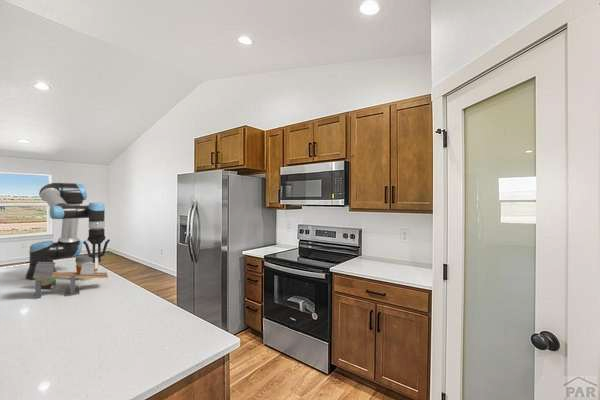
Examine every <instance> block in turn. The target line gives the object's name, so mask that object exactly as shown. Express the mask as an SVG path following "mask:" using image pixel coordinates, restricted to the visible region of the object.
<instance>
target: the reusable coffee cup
mask: <svg viewBox="0 0 600 400" xmlns="http://www.w3.org/2000/svg"><path fill="white" fill-rule="evenodd" d="M91 255H93V253H91ZM95 257H98V253H97V254H96V253H95ZM75 263H76V265H75V271H76V272H80V271H81V266H82V264H95V263H93V258H92V257H89V255H88V253H87V254H81V255H80V254H79V255H78V256H75ZM99 266H100V262H99V263H98V267H99ZM98 270H99V268H98V269H94V273H98ZM90 280H95V278H78V281H90Z"/></svg>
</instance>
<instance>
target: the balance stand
mask: <svg viewBox="0 0 600 400" xmlns="http://www.w3.org/2000/svg"><path fill="white" fill-rule="evenodd" d="M69 280H70V281H69V287H68V288H65V293H64V294H65V295H64V297H69V296H75V295H80V288H81V287H80V286H76V278H75V276H72V277H70V278H69ZM34 289H35V293H34V294H35V299H36V300H37V299H41V298H42V289H41V281H36V280H35V288H34Z"/></svg>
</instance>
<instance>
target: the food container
mask: <svg viewBox="0 0 600 400" xmlns="http://www.w3.org/2000/svg"><path fill="white" fill-rule="evenodd" d="M53 272H58V271H57V269H56V270H53ZM36 281H41V291H42V290H44V291H45V290H46V291H50V290H51V291H52V290H54V289H56V281H57V278H36V279H35V282H36Z"/></svg>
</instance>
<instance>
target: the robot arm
mask: <svg viewBox="0 0 600 400" xmlns="http://www.w3.org/2000/svg"><path fill="white" fill-rule="evenodd" d="M38 195H39V197H40V198H41V200H42V201H43V202H46V203H47V205H48V206H49V218H50V219H53V220H62V221H61V222H62V223H61V234H60V237H59V238H57V242H55V241H54V240H44V241H38V242H35V243H32V244H31V245H30V246H29V251H28V253H29V264H28V265H29V267H28V269H27V271H26V274H25V280H36V278H33V276H34V272H35V268H36V264H37V263H38V262H54V260H59V259H68V258H74V257H75V258H76V257H77V256H80V254H81V252H82V249H83V245H85V248H86V252H87V254H88V255H89V257H92V258H93V263H95V269H98V270H99V266H98V263H99V264H100V263H101V262H102V261H101V258H102V257H104V256H105V254H106V251H107V247H108V245H109V242H110V241H111V240H110V238H107V237H106V236H105V233H106V232H105V231H106V229H105V215H106V212H105V211H106V208H105V207H106V206H105V203H104V202H89V203H88V205H82V204H83V202H84V201H86V200H87V196H88V194H87V189H86V187H85V185H84V184H82V183H74V182H73V183H72V182H70V183H69V182H67V183H66V182H51V183H48V184H45V185H44V186H42V187H41V188H40V190H39V193H38ZM79 219H88V228H89V229H88V237H87V239H86V240H83V241H82V240H80V238H79V237H78V229H79V228H78V227H79ZM103 242H104V245H103V249H102V251H101V246H102V245H101V244H102V243H103ZM89 243H90V244H91V245H92V253H91V250H90V246H89ZM96 245H97V254H98V257H95V254H96ZM91 254H93V255H91ZM54 270H57V269H56V267H55V266H54Z"/></svg>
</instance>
